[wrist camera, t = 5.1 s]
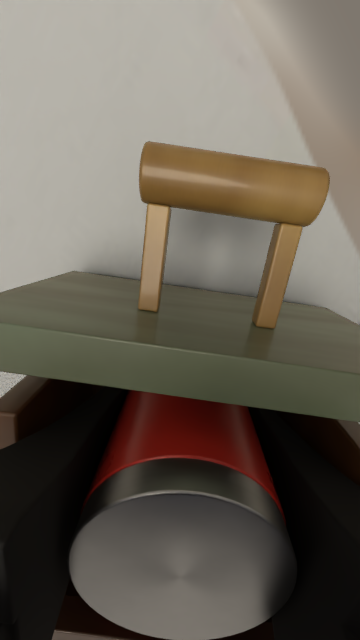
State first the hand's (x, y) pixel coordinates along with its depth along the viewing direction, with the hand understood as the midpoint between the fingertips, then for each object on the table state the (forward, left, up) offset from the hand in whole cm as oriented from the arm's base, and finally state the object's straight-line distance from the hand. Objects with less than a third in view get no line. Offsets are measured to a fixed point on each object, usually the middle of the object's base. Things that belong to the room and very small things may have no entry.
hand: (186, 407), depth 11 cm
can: (0, 0, -1) cm, 1 cm away
